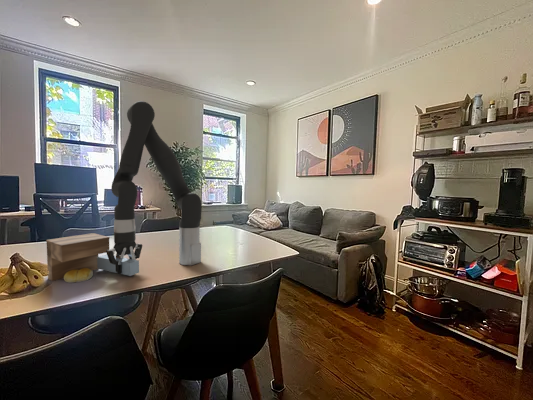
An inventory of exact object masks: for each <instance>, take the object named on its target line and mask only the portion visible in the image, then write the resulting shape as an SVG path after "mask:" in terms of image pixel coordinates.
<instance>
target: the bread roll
mask: <svg viewBox="0 0 533 400" xmlns="http://www.w3.org/2000/svg"><path fill="white" fill-rule="evenodd" d="M93 275H94V270H91V269H88V268H82V269H80V270H78V269H73V270H70V271H68V272H67V273H66V274H65V275H64V278H63V280H64V282H66V283H69V284H70V283H71V284H72V283H77V282H79V283H80V282H85V281H88V280H90V279H91V278H92V277H93Z"/></svg>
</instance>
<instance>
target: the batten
mask: <svg viewBox="0 0 533 400" xmlns="http://www.w3.org/2000/svg"><path fill="white" fill-rule="evenodd" d="M114 257H115V259H116V255H114ZM121 265H122V273H121V275H124V276H129V277H132V276H133V275H136V274H139V273H140V260H138V259H136V260H133V259H129V257H128V258H127V257H124V258H123V259H122V262H121ZM96 270H101V271H102V270H103V271H106V272H110V273H116V274H118V273H117V272H116V266H115V265H114V264H111V263H110V261H109V258H108V256H107V254H104V255H100V256H99V255H98V257H97V269H96Z"/></svg>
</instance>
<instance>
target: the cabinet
mask: <svg viewBox="0 0 533 400" xmlns="http://www.w3.org/2000/svg"><path fill="white" fill-rule="evenodd" d="M45 242H46V260H47V261H46V262H47V266H46V267H47V272H48V271H49V274H48V273H47V279H48V280H49V281H50V282H51V281H52V282H54V281H58V280H61V279H64V275H65V274H66V273H67V272H68V271H70V270H73V269H78V270H80V269H82V268H88V269H91V270H92V271H95V269H96V270H98V269H97V257H99V255H100V254H107V253H106V250H110V236H105V235H103V234H98V233H95V232H92V233H91V232H90V233H86V234H85V233H84V234H79V235H78V234H77V235H70V236H65V237H59V238H58V237H57V238H51V239H50V238H49V239H46V240H45Z"/></svg>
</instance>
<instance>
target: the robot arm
mask: <svg viewBox="0 0 533 400" xmlns="http://www.w3.org/2000/svg"><path fill="white" fill-rule="evenodd" d="M155 113H156V112H155V110H154V108H153V106H152V105H151V104H149V103H148V102H146V101H144V100H143V101H142V100H139V101H136V102H134V103H133V104H132V105H131V106H130V107H128V109H127V112H126V118H127V121H128V122H129V124H130V128H129V133H128V136H127V140H126V142H125V144H124V146H123V149H122V153H121V157H120V161H119V165H118V169H117V172H116V173H115V176H114V178H113V180H112V182H111V183H112V184H111V192H112V195H113V196H115V197H116V198H118V200H117V204H116V205H115V206H114V221H113V242H114V246H113V247H112V248H111V249H110V248H109V250H106V253H105V254H106V255H107V256H108V258H109V261H110V263H111V264H114V265H115V266H116V272H117V273H116V274H118V275H120V274H121V273H122V265H121V262H122V259H123V258H125V256H127V257H128V259H133V260H138V259H139V258H140V257H141V253H142V248H143V244H141V243H136V220H135V207H136V203H137V197H138V187H137V185H136V184H135V182H133V180H134V177H136V176H137V175H138V173H139V170H140V165H141V163H142V162H141V161H142V157H143V151H144V149H145V148H146V150H147V152H148V154H149V156H150V157H151V160H152V161H153V163H154V166H156V168H157V170H158V172H159V173H160V175H161V176H162V178H163V180H164V181H165V183H166V184H167V185H168V187H169V189H170V191H171V192H172V195H173V197H174V200H175V201H176V204H177V206H178V207H179V209H180V210H181V217H180V220H179V224H178V226H179V228H178V231H179V233H178V236H179V239H178V241H179V243H178V245H179V247H178V252H179V253H178V256H179V257H178V258H179V260H178V261H179V262H178V263H179V264H180V265H182V266H193V265H197V264H200V263H201V262H202V242H200V241H201V240H200V238H201V237H200V235H201V234H200V232H201V230H200V229H201V226H200V225H201V220H202V206H203V205H202V199H201V197H200V196H199V195H198V194H197V193H194V192H192V191H191V190H190V189H189V187H188V185H187V183H186V182H185V179H184V177H183V172H182V168H181V165H180V163H179V160H178V159H177V156H176V155H175V153H174V152H173V150H172V148H171V147H170V146H169V145H168V143H166V142H165V141H164V140H163V139H162V138H161V136H160V135H159V133H158V132H157V129H156V128H155V126H154V124H153V121H154V119H155V116H156V114H155ZM144 147H145V148H144ZM115 252H116V254H115ZM114 256H116V259H115V257H114ZM121 275H122V274H121Z"/></svg>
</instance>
